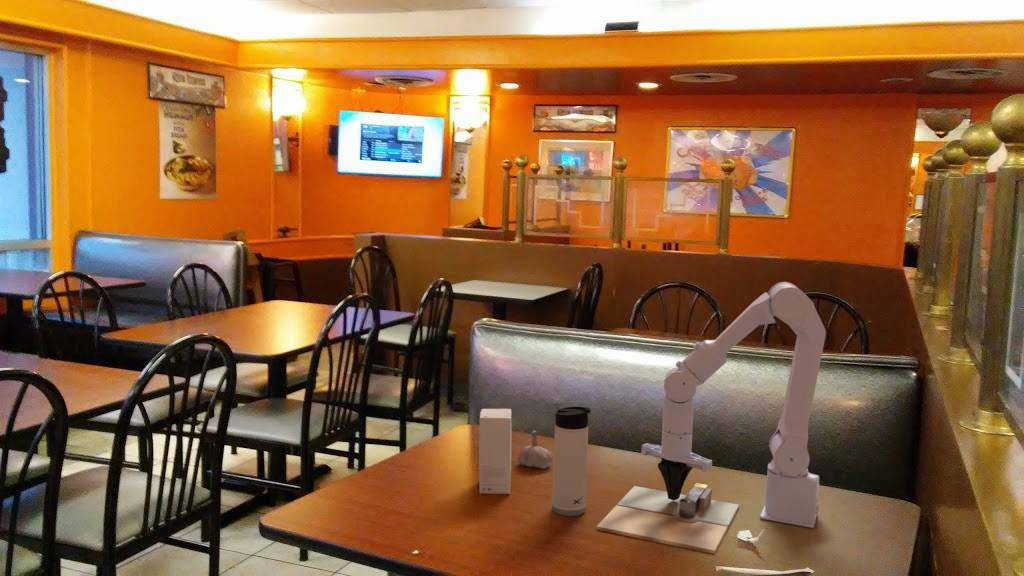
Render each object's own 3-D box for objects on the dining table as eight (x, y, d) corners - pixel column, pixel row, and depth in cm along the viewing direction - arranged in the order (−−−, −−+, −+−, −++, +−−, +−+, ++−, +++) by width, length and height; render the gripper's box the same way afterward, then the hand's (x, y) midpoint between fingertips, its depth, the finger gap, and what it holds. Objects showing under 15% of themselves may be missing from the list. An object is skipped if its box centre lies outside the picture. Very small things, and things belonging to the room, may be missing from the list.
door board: (738, 507, 158) (739, 490, 158) (714, 553, 138) (715, 534, 137) (634, 488, 167) (634, 472, 167) (596, 529, 146) (597, 511, 146)
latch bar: (692, 519, 149) (693, 505, 149) (677, 516, 150) (677, 502, 150) (708, 496, 161) (709, 483, 160) (694, 493, 162) (695, 480, 162)
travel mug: (585, 518, 151) (588, 413, 149) (550, 514, 153) (553, 410, 150) (588, 505, 157) (592, 404, 155) (555, 502, 159) (558, 402, 156)
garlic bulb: (511, 464, 181) (512, 429, 180) (537, 458, 185) (538, 424, 184) (532, 474, 175) (533, 438, 174) (558, 468, 179) (559, 432, 178)
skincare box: (510, 495, 162) (511, 418, 160) (476, 494, 162) (478, 418, 160) (511, 480, 170) (512, 407, 169) (479, 479, 170) (480, 406, 169)
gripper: (721, 434, 155) (717, 503, 157) (656, 418, 165) (653, 483, 167) (703, 442, 150) (699, 513, 152) (636, 425, 160) (633, 492, 161)
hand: (673, 498), depth 159 cm, fingers closed
